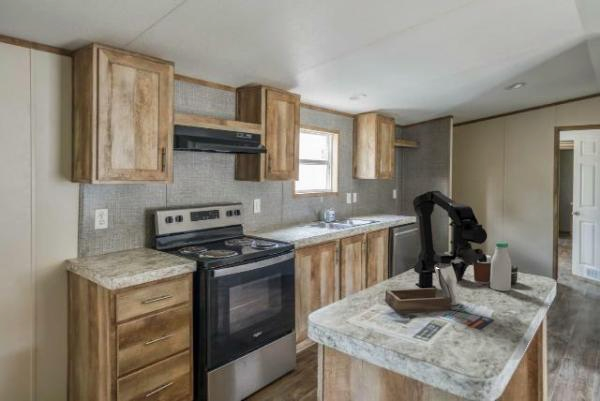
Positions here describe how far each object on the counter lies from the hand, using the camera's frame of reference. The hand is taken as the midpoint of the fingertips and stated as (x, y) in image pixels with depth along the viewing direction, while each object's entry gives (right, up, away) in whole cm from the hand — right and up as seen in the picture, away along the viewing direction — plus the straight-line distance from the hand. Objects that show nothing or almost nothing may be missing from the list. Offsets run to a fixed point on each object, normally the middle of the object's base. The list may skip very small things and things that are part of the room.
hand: (459, 280), depth 142 cm
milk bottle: (+25, -8, +19) cm, 32 cm away
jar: (+33, -7, +29) cm, 44 cm away
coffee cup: (+23, -7, +29) cm, 38 cm away
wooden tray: (-17, -9, -2) cm, 19 cm away
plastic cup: (+13, -7, +34) cm, 37 cm away
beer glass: (-2, -8, 0) cm, 9 cm away
